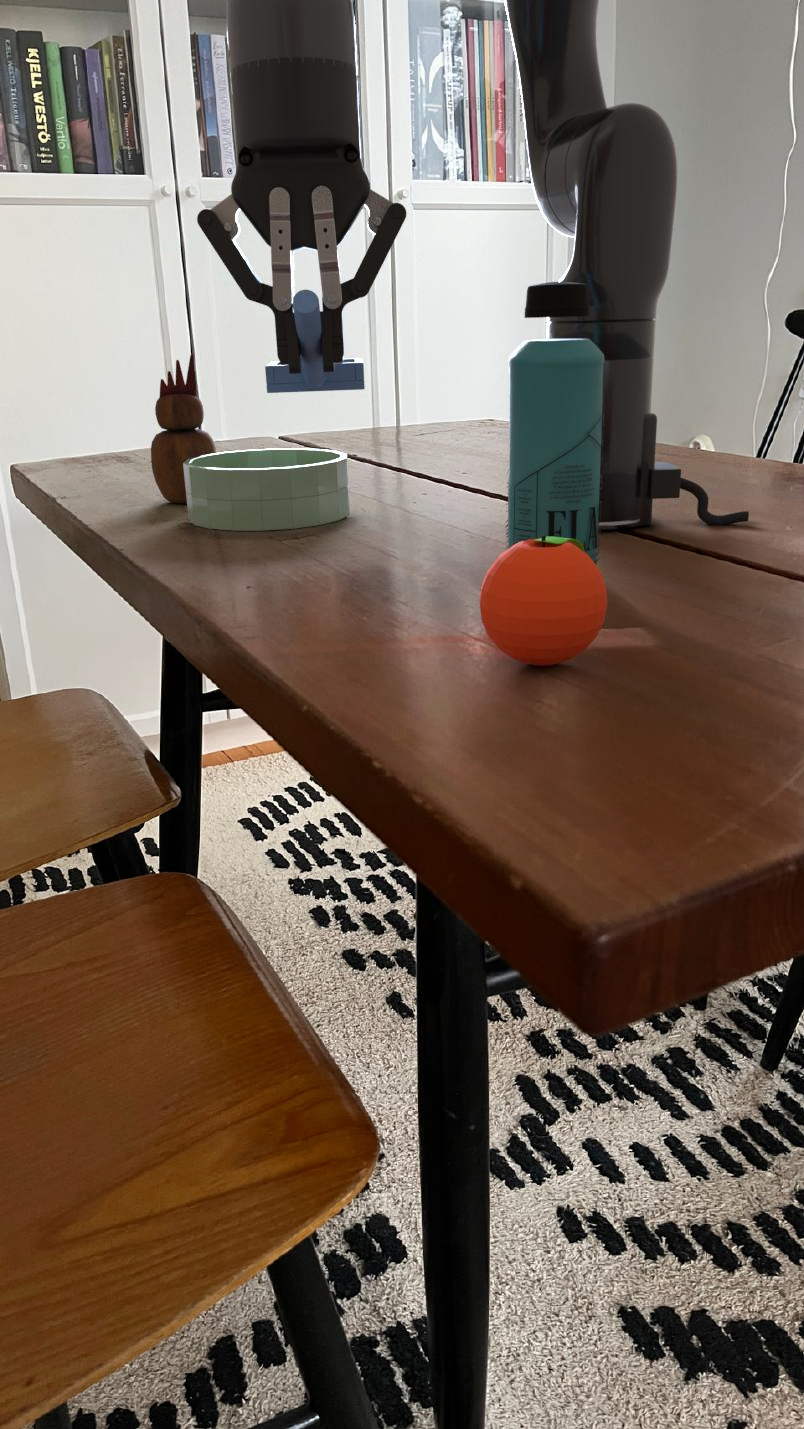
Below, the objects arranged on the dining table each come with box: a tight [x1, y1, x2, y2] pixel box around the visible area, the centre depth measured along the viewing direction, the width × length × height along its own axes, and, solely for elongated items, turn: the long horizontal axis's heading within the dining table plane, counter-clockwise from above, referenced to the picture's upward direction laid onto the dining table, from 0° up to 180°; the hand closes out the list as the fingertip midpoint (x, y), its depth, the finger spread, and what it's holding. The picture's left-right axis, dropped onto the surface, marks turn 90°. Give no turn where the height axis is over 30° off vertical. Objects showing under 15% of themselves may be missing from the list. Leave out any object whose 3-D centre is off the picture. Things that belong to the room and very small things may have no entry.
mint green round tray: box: [183, 447, 350, 532], centre depth 100 cm, size 15×15×6 cm
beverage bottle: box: [505, 281, 605, 566], centre depth 71 cm, size 6×7×20 cm
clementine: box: [478, 535, 609, 667], centre depth 58 cm, size 8×7×7 cm
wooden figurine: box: [150, 354, 217, 505], centre depth 112 cm, size 7×6×15 cm
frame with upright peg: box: [264, 289, 366, 394], centre depth 71 cm, size 16×7×6 cm, turn 3°
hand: (312, 371), depth 69 cm, fingers closed on frame with upright peg
